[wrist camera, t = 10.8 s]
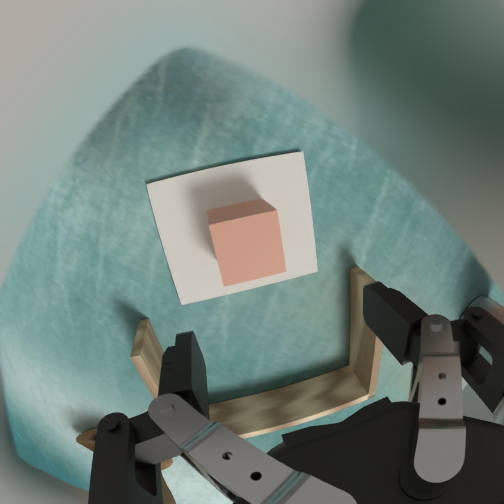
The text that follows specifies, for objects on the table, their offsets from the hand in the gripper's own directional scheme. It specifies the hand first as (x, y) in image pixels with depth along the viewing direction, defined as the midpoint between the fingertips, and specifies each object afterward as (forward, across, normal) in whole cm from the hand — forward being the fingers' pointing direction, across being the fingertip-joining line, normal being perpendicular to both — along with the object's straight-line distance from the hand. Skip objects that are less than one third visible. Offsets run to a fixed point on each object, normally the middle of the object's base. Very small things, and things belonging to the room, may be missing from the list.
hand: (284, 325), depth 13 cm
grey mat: (+15, 0, 0) cm, 15 cm away
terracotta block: (+15, 0, 0) cm, 15 cm away
